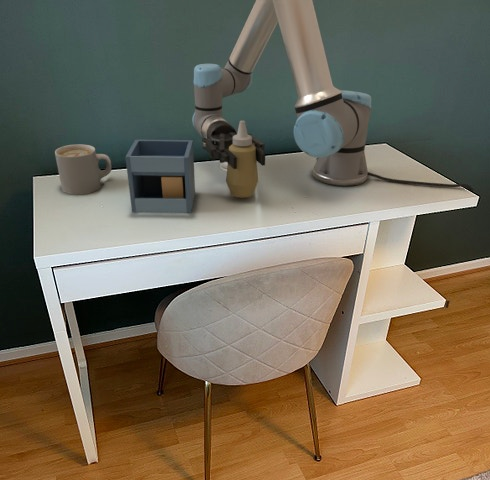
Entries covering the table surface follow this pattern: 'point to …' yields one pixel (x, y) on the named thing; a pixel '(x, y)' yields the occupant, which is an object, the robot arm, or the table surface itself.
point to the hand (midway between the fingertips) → (249, 161)
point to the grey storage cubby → (159, 174)
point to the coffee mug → (80, 168)
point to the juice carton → (173, 186)
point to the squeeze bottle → (242, 165)
